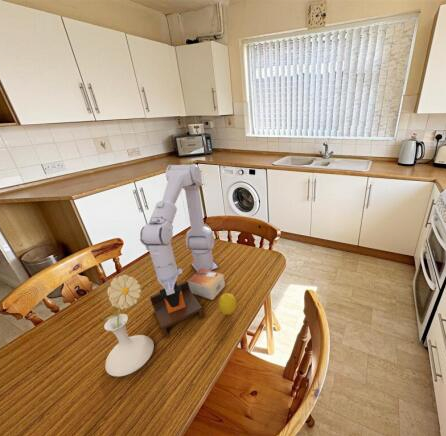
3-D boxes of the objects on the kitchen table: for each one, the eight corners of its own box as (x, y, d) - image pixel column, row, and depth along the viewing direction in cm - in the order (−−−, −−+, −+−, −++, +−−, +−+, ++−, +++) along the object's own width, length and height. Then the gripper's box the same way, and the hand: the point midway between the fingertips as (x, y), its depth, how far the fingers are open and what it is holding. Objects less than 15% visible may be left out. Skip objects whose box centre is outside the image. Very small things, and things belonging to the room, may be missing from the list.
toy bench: (155, 312, 79) (149, 296, 76) (190, 296, 85) (186, 280, 82) (164, 337, 70) (159, 320, 67) (203, 316, 76) (200, 300, 73)
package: (168, 313, 73) (164, 299, 71) (166, 304, 76) (162, 291, 74) (185, 307, 75) (182, 293, 73) (183, 298, 79) (179, 285, 76)
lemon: (240, 309, 78) (238, 291, 75) (231, 322, 74) (228, 303, 71) (227, 305, 81) (224, 286, 77) (216, 317, 76) (213, 298, 73)
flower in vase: (121, 389, 57) (83, 313, 46) (99, 365, 63) (59, 292, 52) (169, 347, 67) (146, 275, 56) (145, 329, 73) (120, 262, 62)
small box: (210, 288, 80) (186, 280, 84) (212, 300, 83) (189, 292, 87) (223, 274, 87) (200, 267, 91) (225, 285, 90) (203, 279, 93)
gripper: (181, 271, 64) (190, 308, 70) (176, 246, 76) (184, 280, 82) (153, 279, 62) (165, 317, 67) (152, 252, 73) (162, 286, 79)
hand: (174, 297), depth 74 cm, fingers open, 7 cm apart
